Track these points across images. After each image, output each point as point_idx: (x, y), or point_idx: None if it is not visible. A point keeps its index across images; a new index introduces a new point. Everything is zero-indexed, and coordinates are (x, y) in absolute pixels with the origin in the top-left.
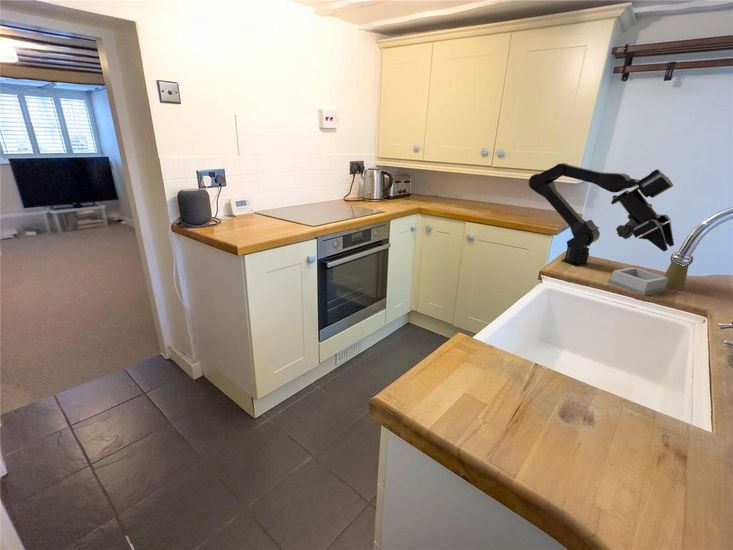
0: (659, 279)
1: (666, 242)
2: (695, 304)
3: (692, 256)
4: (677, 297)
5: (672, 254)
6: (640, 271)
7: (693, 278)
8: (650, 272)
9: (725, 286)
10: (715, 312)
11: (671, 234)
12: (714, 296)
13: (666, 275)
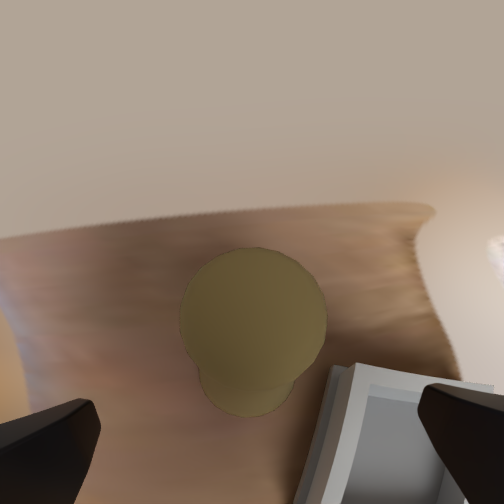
0: (421, 378)
1: (84, 470)
2: (388, 264)
3: (248, 248)
4: (375, 318)
5: (278, 378)
6: (340, 497)
7: (36, 316)
8: (338, 454)
9: (67, 230)
10: (397, 220)
11: (13, 447)
12: (228, 237)
13: (283, 390)
